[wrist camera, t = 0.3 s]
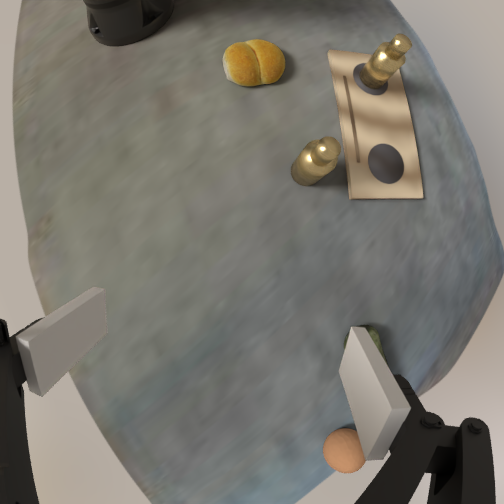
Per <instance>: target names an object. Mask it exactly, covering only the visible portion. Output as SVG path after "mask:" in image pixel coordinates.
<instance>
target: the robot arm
mask: <svg viewBox="0 0 504 504" xmlns="http://www.w3.org/2000/svg"><path fill="white" fill-rule="evenodd" d="M83 1H84V2H85V4H86V6H87V17H88V27H89V30H90V32H91V33H92V35H93V36H94V38H95V39H96V40H97V41H98V42H99V43H101V44H104V45H108V46H121V45H127V44H130V43H134V42H136V41H139V40H141V39H143V38H145V37H147V36H149V35H151V34H152V33H154V32H155V31H157V30H158V29H159V28H160V27H161V26H163V25H164V24H165V22H166V21H167V20H168V19H169V17H170V16H171V14H172V11H173V7H174V3H173V0H83ZM106 334H107V319H106V300H105V289H103V288H98V287H92V288H91V289H89V290H87V291H86V292H84V293H82V294H81V295H79V296H78V297H76V298H74V299H73V300H71V301H70V302H68V303H66V304H65V305H63V306H62V307H60V308H58V309H57V310H55V311H54V312H52V313H51V314H49V315H47V316H46V317H44V318H41V319H38V320H36V321H34V322H32V323H31V324H30V325H28V326H26V327H25V329H22V330H20V331H19V332H17V333H16V334H14V335H13V336H11V337H9V333H8V328H7V323H6V321H5V320H2V319H0V504H39V501H38V496H37V492H36V488H35V483H34V479H33V473H32V467H31V461H30V454H29V448H28V440H27V431H26V421H25V407H24V390H23V387H22V384H23V383H24V382H25V381H26V380H27V383H28V387H29V390H30V391H31V392H33V393H35V394H37V395H39V396H41V397H43V396H44V395H45V394H46V393H47V392H48V391H49V390H50V389H51V388H52V386H54V384H56V383H57V382H58V381H59V380H60V379H61V378H62V377H63V376H64V375H65V374H66V373H67V372H68V371H69V370H70V369H71V368H72V367H73V366H74V365H75V364H76V363H77V362H78V361H79V360H80V359H81V358H82V357H83V356H84V355H85V354H86V353H88V352H89V351H90V350H91V349H92V348H93V347H94V346H95V345H96V344H97V343H98V342H99V341H100V340H101V339H102V338H103V337H104V336H105V335H106ZM339 373H340V377H341V380H342V383H343V386H344V389H345V393H346V396H347V399H348V402H349V406H350V409H351V412H352V416H353V419H354V422H355V426H356V429H357V433H358V436H359V440H360V443H361V447H362V450H363V454H364V457H365V461H367V460H382V459H384V457H385V455H386V454H387V452H388V450H390V453H391V455H390V457H389V458H388V460H387V461H386V462H385V464H384V465H383V467H382V468H381V470H380V471H379V473H378V474H377V475H376V477H375V478H374V479H373V480H372V482H371V483H370V484H369V486H368V487H367V488H366V490H365V491H364V492H363V493H362V495H361V496H360V497H359V499H358V500H357V501H356V502H355V503H354V504H408V503H409V501H410V499H411V498H412V496H413V494H414V492H415V490H416V488H417V487H418V485H419V483H420V481H421V479H422V477H423V475H424V473H432V475H431V482H430V488H429V495H428V501H427V504H496V496H495V478H494V465H493V455H492V447H491V440H490V434H489V429H488V426H487V425H486V424H485V423H484V422H483V421H481V420H480V419H477V418H466V419H465V420H463V422H462V423H461V425H460V427H455V426H447V425H445V424H444V422H443V420H442V419H441V418H440V417H439V416H438V415H436V414H434V413H431V412H426V410H425V409H424V407H423V405H422V404H421V402H420V400H419V399H418V397H417V395H415V392H414V390H413V389H412V387H411V385H410V384H409V382H408V381H407V380H406V379H405V378H404V377H402V376H401V375H392V373H391V371H390V369H389V368H388V366H387V364H386V362H385V361H384V359H383V357H382V355H381V354H380V352H379V350H378V349H377V347H376V345H375V344H374V342H373V340H372V338H371V337H370V335H369V333H368V332H367V330H366V328H364V327H352V326H351V330H350V333H349V337H348V341H347V344H346V348H345V351H344V355H343V358H342V362H341V365H340V369H339Z"/></svg>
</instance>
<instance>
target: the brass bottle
mask: <svg viewBox="0 0 504 504" xmlns="http://www.w3.org/2000/svg"><path fill="white" fill-rule="evenodd" d="M340 152H341V146H340V144H339V142H338V141H337V140H336V139H335V138H333V137H324V138H322V139H321V140H313V141H311V142H309V143H308V144H307V145H306V147H305V148H304V149H303V151H302V152H301V153H300V155H299V156H298V157H297V159H296V160H295V161H294V163H293V164H292V166H291V175H292V178H293V179H294V181H295V182H297V183H298V184H300V185H302V186H310V185H313V184H314V183H316V182H317V181H318V180H320V179H321V178H322V177H324V176H325V175H326V174H328V173H329V172H331V171H332V170H333V169H334V168H335V167H336V164H337V161H338V156H339V154H340Z"/></svg>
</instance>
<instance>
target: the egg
mask: <svg viewBox="0 0 504 504" xmlns="http://www.w3.org/2000/svg"><path fill="white" fill-rule="evenodd" d="M323 454H324V457H325V459H326V461H327V463H328V464H329V465H330V466H331V467H332V468H333V469H335V470H337V471H339V472H342V473H353V472H355V471H358V470H359V469H360V468H361V467H362V466H363V465H364V463H365V457H364V454H363V450H362V447H361V443H360V440H359V436H358V433H357V431H355V430H353V429H349V428H342V429H338V430H335V431H334V432H332V433H331V434H330V435H329V436H328V437H327V438H326V440H325V443H324V446H323Z"/></svg>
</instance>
